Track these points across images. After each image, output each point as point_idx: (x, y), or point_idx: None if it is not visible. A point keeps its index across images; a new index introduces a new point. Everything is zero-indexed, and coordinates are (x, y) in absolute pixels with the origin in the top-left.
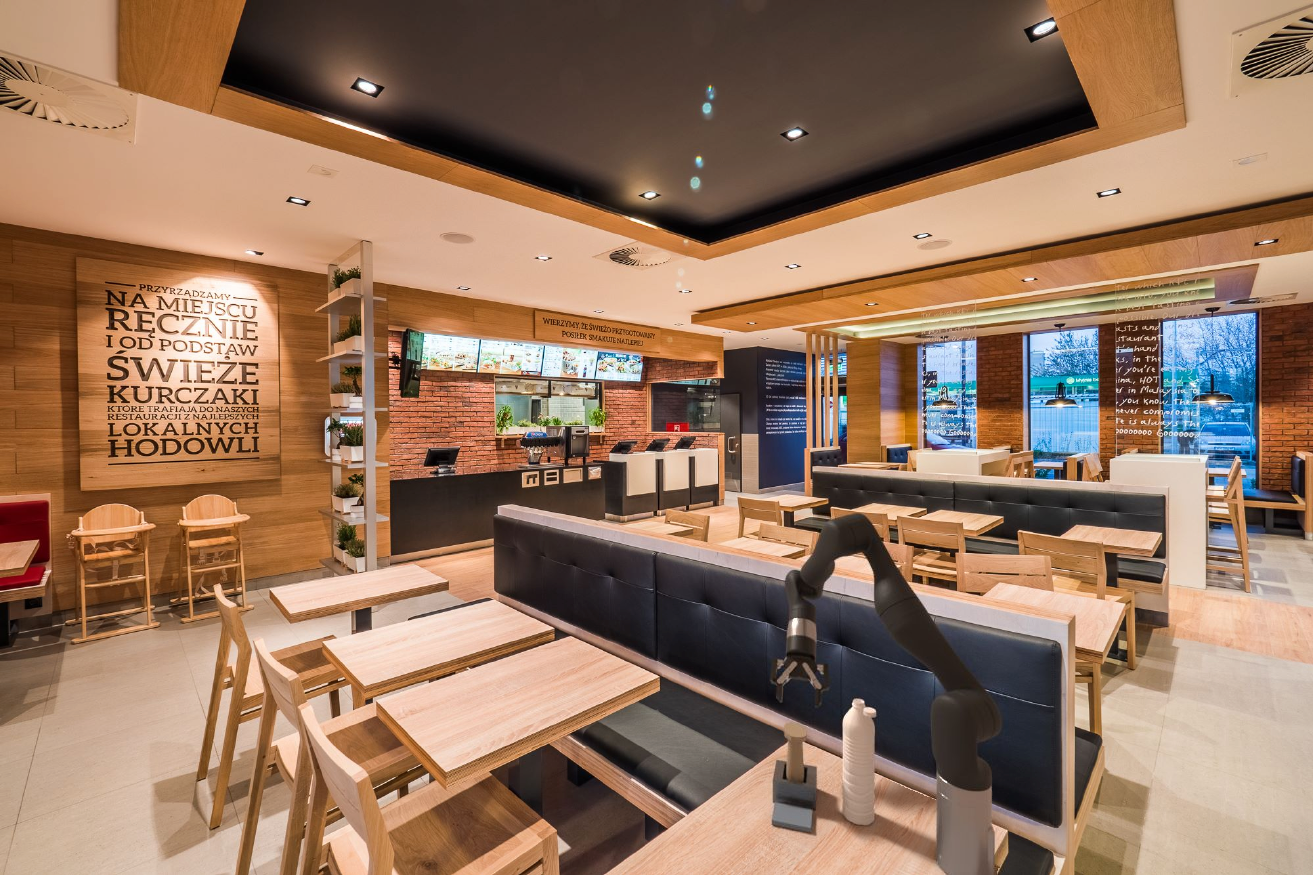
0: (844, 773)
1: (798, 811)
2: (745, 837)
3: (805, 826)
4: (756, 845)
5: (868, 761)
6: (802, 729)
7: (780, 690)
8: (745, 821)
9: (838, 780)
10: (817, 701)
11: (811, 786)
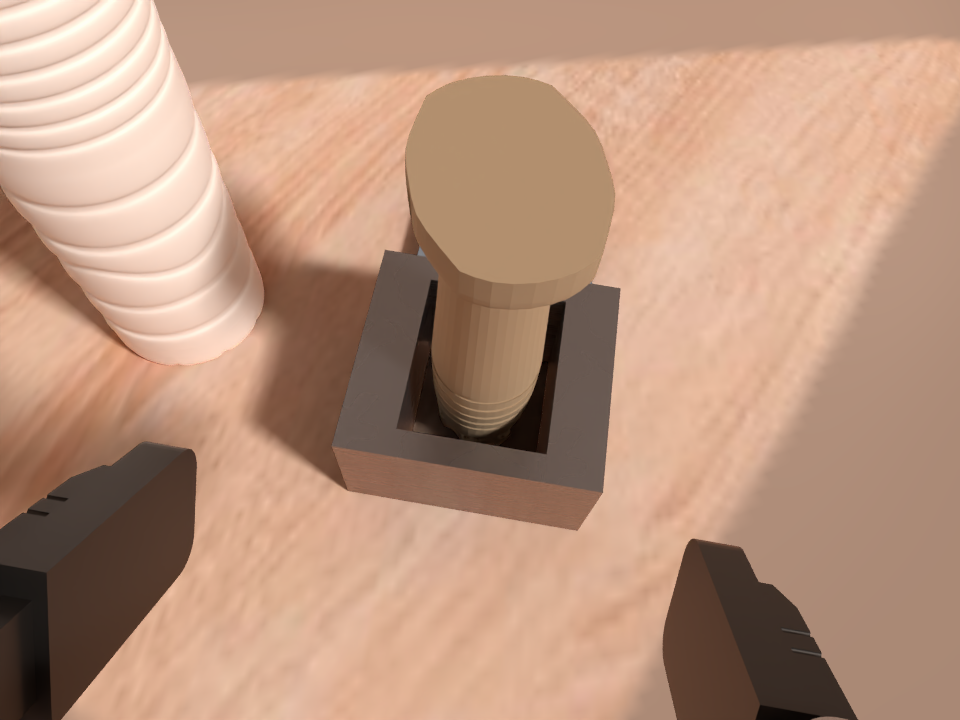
0: (205, 132)
1: None
2: (693, 151)
3: None
4: (648, 123)
5: None
6: (440, 177)
7: (757, 621)
8: (706, 225)
9: (191, 586)
10: (133, 457)
11: (405, 259)
